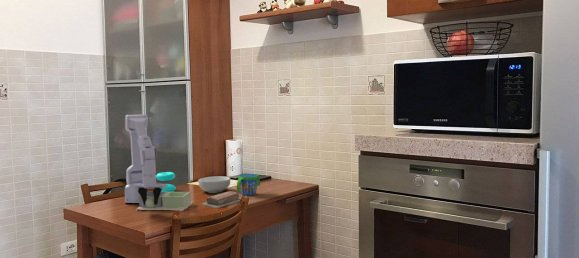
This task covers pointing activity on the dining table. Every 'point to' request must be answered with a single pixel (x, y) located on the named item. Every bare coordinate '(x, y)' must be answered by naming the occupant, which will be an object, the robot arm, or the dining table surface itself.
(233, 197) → the packaged product
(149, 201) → the ball
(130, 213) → the dining table surface
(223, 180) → the cereal bowl
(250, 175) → the snack cup
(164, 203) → the two-tone hollow container
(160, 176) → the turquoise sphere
